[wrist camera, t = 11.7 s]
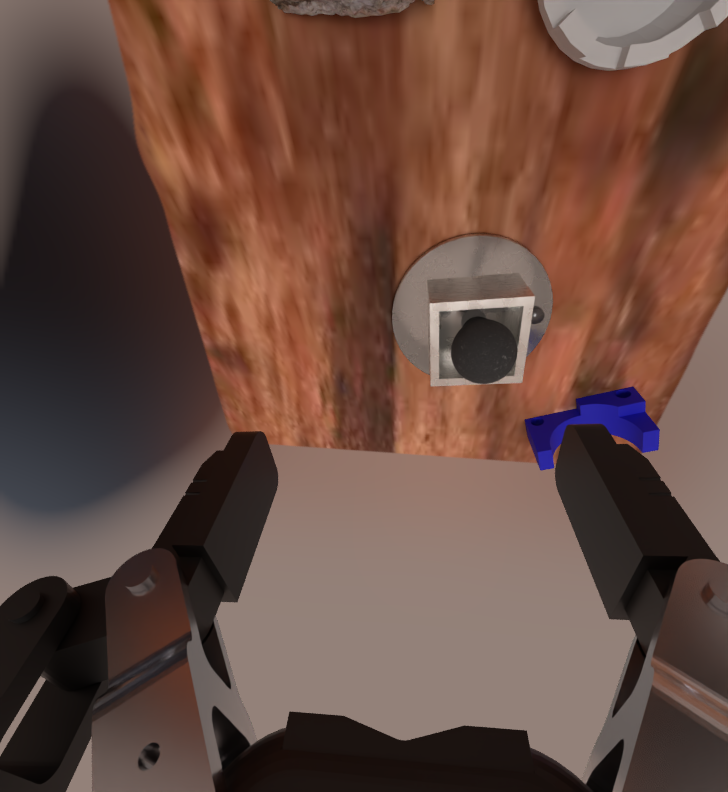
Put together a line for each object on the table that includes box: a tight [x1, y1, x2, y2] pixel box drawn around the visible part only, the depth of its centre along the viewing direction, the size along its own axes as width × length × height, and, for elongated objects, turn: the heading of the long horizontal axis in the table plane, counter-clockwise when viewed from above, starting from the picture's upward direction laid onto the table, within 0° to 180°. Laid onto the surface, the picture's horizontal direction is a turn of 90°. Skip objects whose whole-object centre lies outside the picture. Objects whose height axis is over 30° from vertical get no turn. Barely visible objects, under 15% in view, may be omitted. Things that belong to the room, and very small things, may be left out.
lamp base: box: [392, 233, 553, 386], centre depth 38 cm, size 16×16×7 cm
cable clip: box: [525, 387, 660, 470], centre depth 44 cm, size 12×4×6 cm, turn 111°
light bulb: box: [451, 309, 518, 384], centre depth 36 cm, size 6×6×10 cm
